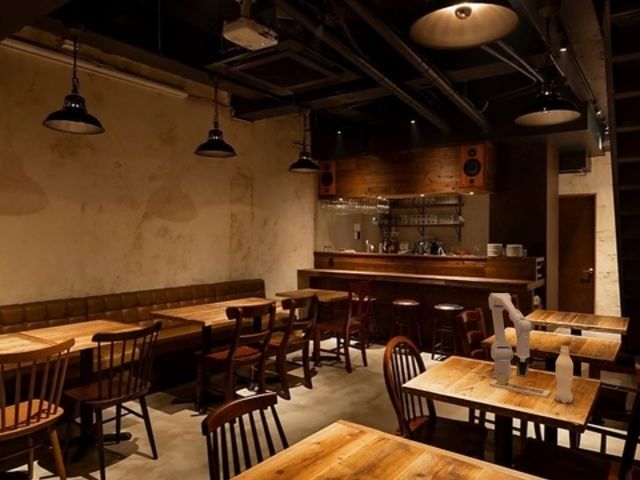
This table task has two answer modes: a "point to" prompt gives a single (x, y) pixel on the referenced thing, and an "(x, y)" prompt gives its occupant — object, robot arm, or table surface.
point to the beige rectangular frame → (522, 389)
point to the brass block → (502, 379)
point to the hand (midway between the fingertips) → (522, 373)
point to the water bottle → (564, 376)
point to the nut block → (525, 373)
